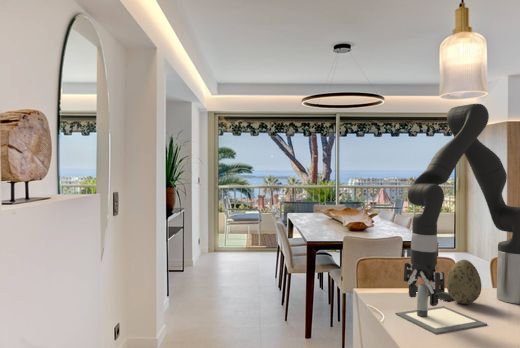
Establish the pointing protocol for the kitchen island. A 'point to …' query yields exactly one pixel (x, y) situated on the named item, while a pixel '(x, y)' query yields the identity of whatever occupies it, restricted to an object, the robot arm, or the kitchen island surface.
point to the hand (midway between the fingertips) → (422, 301)
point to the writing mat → (441, 320)
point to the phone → (440, 295)
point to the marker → (422, 298)
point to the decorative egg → (463, 282)
